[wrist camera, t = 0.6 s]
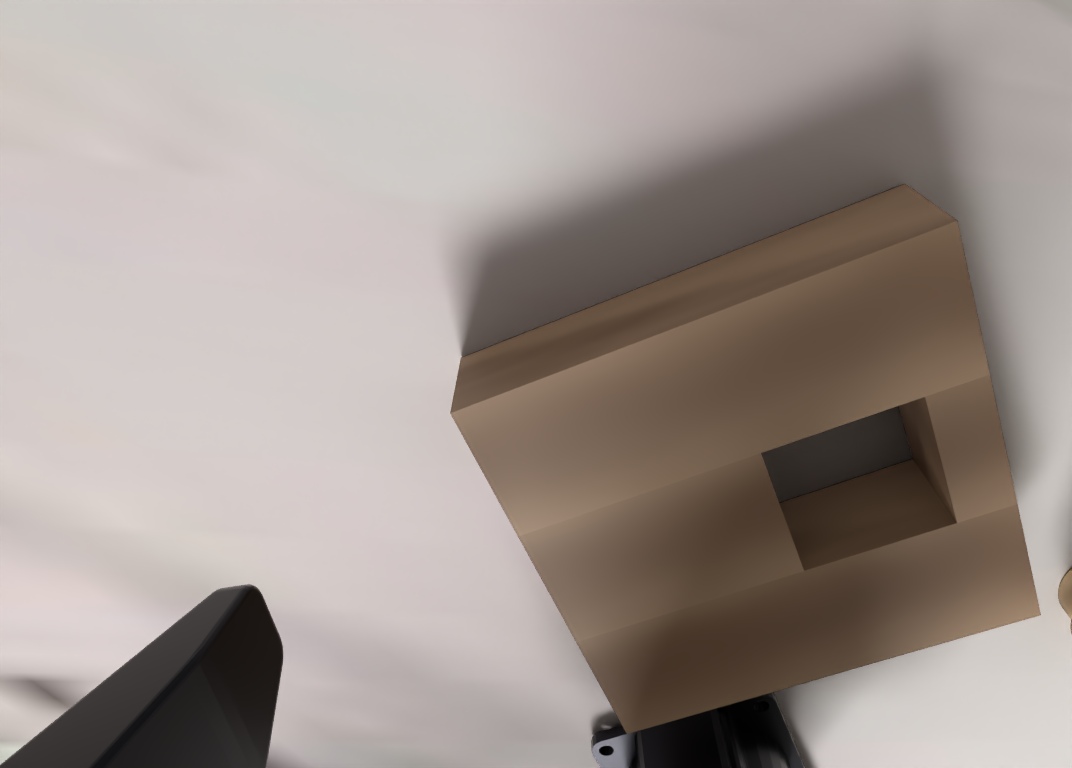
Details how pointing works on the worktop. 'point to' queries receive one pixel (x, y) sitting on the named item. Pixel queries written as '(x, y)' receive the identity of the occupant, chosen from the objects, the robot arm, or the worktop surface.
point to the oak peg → (1066, 594)
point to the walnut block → (758, 464)
